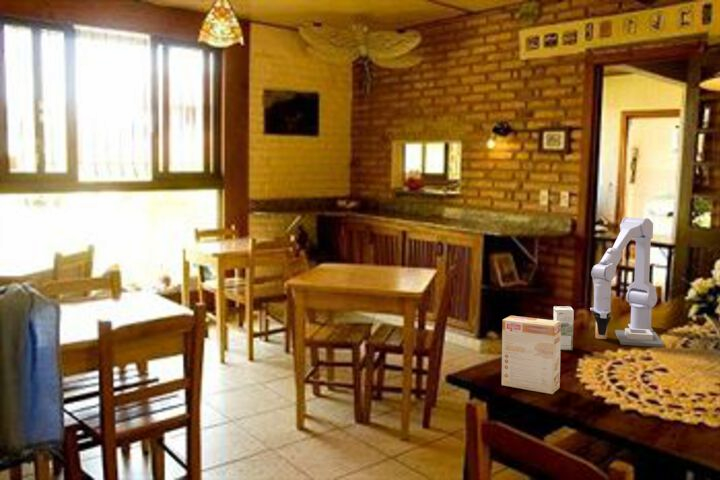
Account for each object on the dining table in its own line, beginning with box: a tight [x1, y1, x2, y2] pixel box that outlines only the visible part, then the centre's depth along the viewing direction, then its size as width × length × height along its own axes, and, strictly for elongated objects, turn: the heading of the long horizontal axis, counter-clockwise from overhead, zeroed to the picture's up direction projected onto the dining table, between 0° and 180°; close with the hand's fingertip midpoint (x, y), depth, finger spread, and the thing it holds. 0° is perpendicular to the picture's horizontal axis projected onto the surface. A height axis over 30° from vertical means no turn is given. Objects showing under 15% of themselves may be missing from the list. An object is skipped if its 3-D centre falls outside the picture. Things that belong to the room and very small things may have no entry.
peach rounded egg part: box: [594, 321, 608, 340], centre depth 235 cm, size 4×4×6 cm
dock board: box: [614, 327, 665, 348], centre depth 233 cm, size 18×14×3 cm
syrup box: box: [552, 305, 575, 351], centre depth 222 cm, size 6×6×14 cm
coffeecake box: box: [501, 315, 561, 395], centre depth 182 cm, size 15×7×20 cm, turn 56°
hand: (601, 333), depth 235 cm, fingers closed on peach rounded egg part, 4 cm apart
